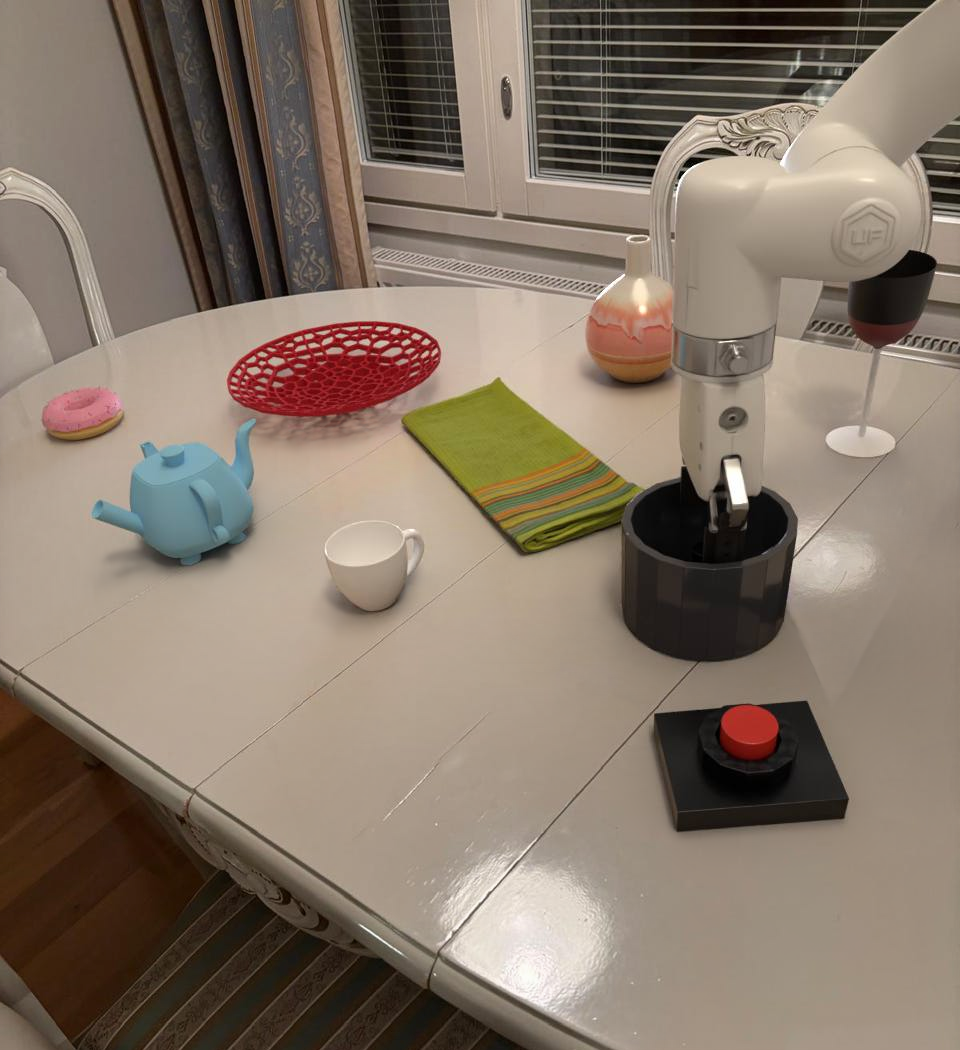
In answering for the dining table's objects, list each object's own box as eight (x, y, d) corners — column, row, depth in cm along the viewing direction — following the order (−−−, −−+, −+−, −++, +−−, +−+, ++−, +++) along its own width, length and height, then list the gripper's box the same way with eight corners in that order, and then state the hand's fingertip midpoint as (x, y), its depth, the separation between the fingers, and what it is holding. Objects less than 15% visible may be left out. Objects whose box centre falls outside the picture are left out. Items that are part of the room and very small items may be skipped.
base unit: (803, 719, 73) (810, 683, 71) (844, 818, 65) (853, 781, 63) (653, 732, 74) (654, 696, 71) (676, 831, 66) (678, 795, 63)
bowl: (365, 465, 112) (358, 427, 109) (191, 427, 125) (180, 393, 122) (483, 367, 131) (480, 333, 128) (321, 344, 144) (315, 312, 140)
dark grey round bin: (760, 557, 90) (771, 468, 84) (804, 654, 79) (820, 559, 73) (612, 571, 91) (612, 483, 84) (634, 669, 80) (636, 576, 73)
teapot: (172, 501, 110) (141, 415, 103) (280, 502, 107) (255, 413, 100) (114, 578, 99) (74, 487, 91) (233, 580, 96) (202, 487, 89)
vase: (605, 403, 119) (604, 264, 107) (573, 363, 129) (569, 232, 118) (704, 383, 120) (713, 244, 109) (664, 345, 131) (669, 215, 119)
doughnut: (126, 402, 134) (116, 375, 131) (128, 433, 126) (117, 405, 123) (50, 418, 132) (38, 391, 129) (46, 452, 124) (33, 423, 121)
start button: (767, 718, 69) (770, 702, 68) (782, 758, 66) (785, 741, 65) (714, 723, 69) (715, 706, 68) (726, 763, 66) (728, 746, 65)
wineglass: (812, 450, 105) (839, 273, 92) (838, 418, 110) (866, 245, 97) (884, 465, 101) (923, 282, 88) (907, 431, 106) (947, 253, 93)
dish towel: (524, 560, 94) (522, 533, 92) (399, 426, 119) (395, 403, 117) (652, 514, 98) (653, 488, 96) (504, 395, 123) (502, 372, 121)
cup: (324, 596, 92) (309, 541, 88) (408, 557, 96) (398, 502, 92) (361, 633, 87) (347, 576, 83) (448, 590, 91) (440, 534, 87)
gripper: (807, 388, 62) (780, 589, 73) (744, 297, 75) (729, 479, 86) (695, 400, 62) (685, 599, 73) (652, 307, 75) (649, 487, 86)
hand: (709, 534), depth 79 cm, fingers open, 9 cm apart
